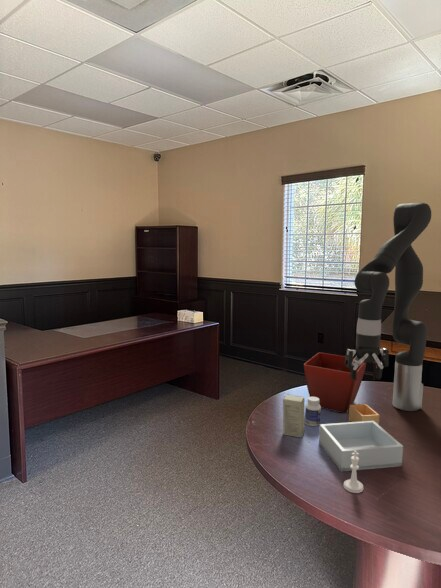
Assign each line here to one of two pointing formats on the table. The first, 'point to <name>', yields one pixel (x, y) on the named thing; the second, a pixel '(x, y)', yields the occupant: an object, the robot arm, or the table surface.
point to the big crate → (360, 445)
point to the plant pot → (332, 381)
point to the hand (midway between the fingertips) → (365, 379)
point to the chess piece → (354, 477)
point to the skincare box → (293, 415)
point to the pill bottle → (313, 411)
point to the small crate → (362, 413)
